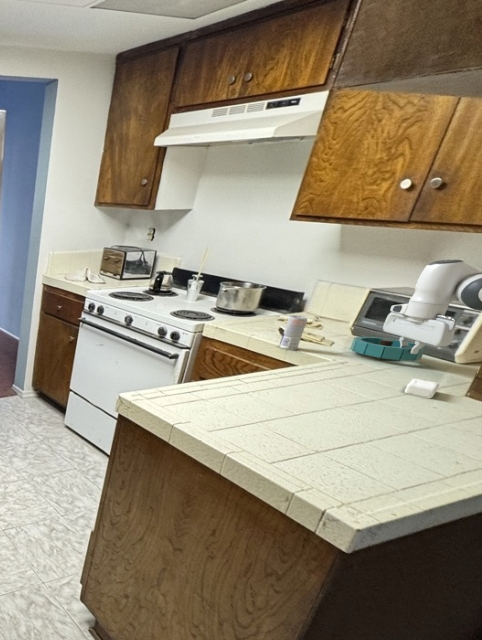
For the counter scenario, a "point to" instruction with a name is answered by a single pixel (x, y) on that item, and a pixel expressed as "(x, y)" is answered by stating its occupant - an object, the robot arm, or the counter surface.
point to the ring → (384, 349)
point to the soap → (422, 388)
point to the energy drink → (293, 332)
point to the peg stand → (385, 343)
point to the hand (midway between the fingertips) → (407, 352)
